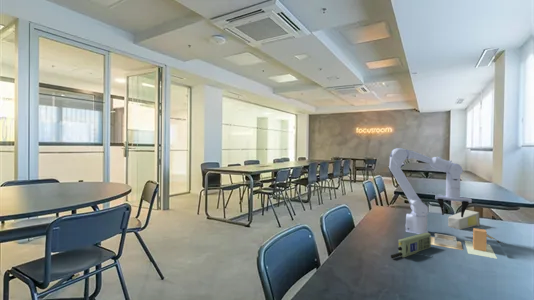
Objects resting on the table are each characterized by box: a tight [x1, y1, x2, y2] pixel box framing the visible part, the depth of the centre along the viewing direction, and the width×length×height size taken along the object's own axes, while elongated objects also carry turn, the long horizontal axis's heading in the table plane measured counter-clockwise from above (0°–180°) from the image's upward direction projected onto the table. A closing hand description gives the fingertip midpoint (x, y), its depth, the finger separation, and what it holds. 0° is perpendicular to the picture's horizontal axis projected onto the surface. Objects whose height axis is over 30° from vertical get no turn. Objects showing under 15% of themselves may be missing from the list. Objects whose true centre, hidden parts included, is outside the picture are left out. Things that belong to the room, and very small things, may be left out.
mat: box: [464, 240, 498, 260], centre depth 113 cm, size 9×18×1 cm, turn 147°
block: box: [447, 209, 481, 230], centre depth 149 cm, size 19×8×8 cm, turn 116°
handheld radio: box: [390, 232, 432, 259], centre depth 109 cm, size 7×3×25 cm
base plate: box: [431, 236, 464, 251], centre depth 120 cm, size 12×12×1 cm
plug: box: [472, 227, 488, 251], centre depth 113 cm, size 4×4×8 cm
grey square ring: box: [434, 233, 457, 248], centre depth 120 cm, size 8×8×2 cm
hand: (452, 215), depth 131 cm, fingers open, 7 cm apart
